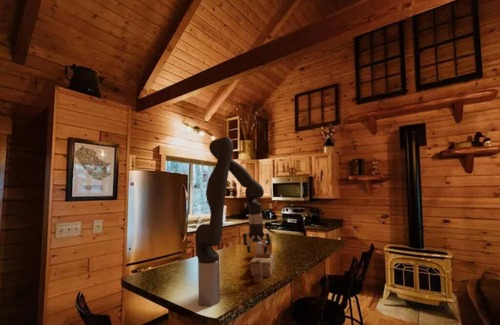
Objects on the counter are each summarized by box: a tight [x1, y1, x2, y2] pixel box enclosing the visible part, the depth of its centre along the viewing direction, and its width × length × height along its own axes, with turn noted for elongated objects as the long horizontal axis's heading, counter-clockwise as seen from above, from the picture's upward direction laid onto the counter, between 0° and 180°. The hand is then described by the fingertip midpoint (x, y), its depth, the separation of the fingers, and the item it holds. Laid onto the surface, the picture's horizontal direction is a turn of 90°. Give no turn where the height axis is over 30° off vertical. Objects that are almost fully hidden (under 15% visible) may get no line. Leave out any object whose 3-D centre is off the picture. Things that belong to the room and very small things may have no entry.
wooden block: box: [253, 260, 264, 283], centre depth 137 cm, size 4×4×10 cm
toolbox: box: [250, 256, 276, 278], centre depth 152 cm, size 18×11×7 cm, turn 167°
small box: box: [256, 241, 273, 254], centre depth 172 cm, size 8×6×13 cm
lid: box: [250, 251, 275, 264], centre depth 153 cm, size 18×11×4 cm, turn 167°
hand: (257, 253), depth 139 cm, fingers open, 8 cm apart
